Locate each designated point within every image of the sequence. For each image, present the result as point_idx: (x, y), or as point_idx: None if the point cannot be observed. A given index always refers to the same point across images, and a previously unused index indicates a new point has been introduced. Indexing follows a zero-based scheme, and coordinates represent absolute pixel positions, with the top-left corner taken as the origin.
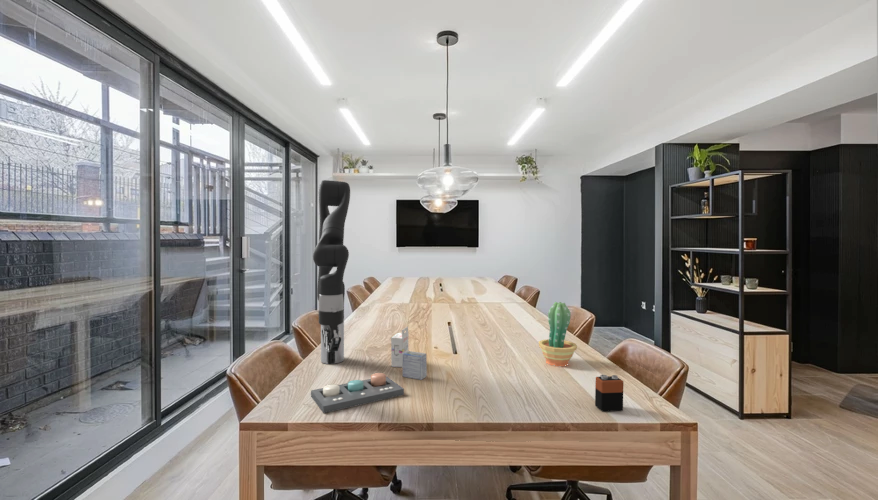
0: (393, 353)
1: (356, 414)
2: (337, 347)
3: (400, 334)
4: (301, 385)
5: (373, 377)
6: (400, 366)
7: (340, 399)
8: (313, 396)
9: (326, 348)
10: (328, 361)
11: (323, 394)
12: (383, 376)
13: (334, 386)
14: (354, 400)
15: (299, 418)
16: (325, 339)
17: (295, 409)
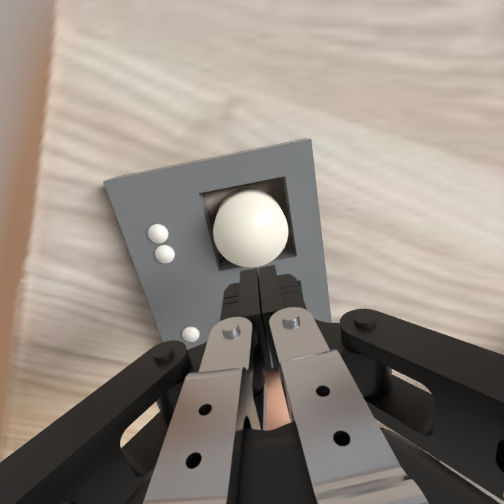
0: (494, 497)
1: (83, 285)
2: (125, 445)
3: None
4: (467, 100)
5: (273, 398)
6: (441, 462)
7: (155, 253)
8: (265, 147)
9: (287, 324)
10: (240, 278)
11: (241, 192)
12: (269, 428)
13: (257, 247)
14: (148, 298)
15: (82, 73)
16: (293, 408)
17: (182, 58)
